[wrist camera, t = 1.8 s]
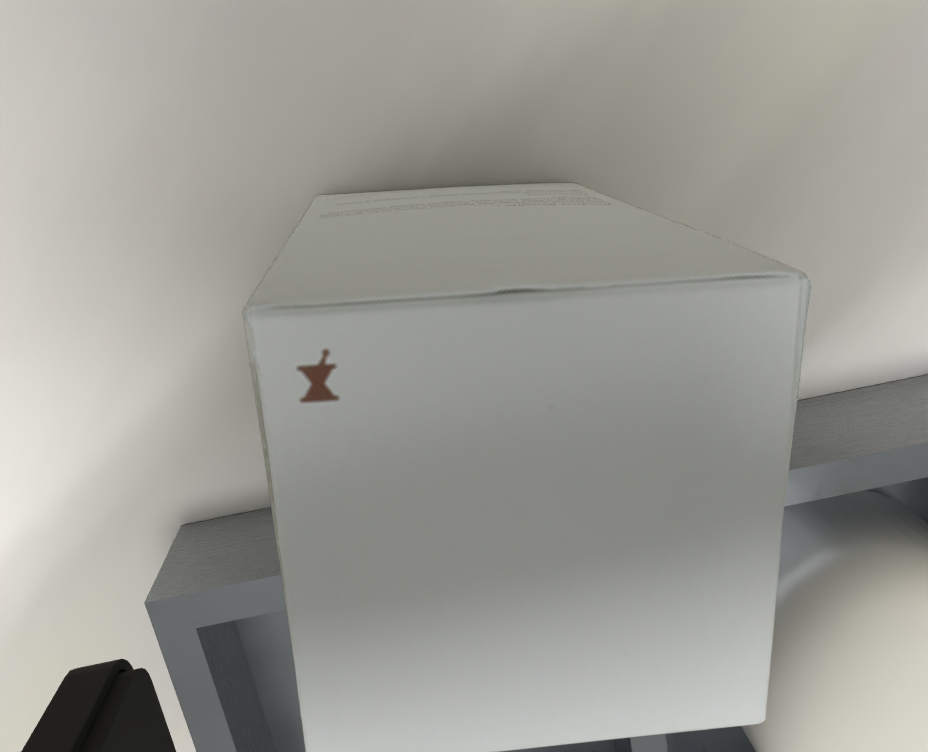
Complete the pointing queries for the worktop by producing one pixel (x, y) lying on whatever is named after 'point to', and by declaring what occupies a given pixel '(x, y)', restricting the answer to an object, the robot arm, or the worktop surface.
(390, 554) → the supplement box
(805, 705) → the white rounded cylinder
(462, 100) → the worktop surface
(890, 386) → the divided grey tray
